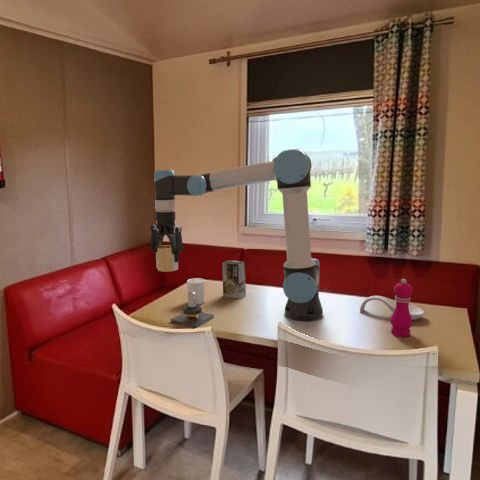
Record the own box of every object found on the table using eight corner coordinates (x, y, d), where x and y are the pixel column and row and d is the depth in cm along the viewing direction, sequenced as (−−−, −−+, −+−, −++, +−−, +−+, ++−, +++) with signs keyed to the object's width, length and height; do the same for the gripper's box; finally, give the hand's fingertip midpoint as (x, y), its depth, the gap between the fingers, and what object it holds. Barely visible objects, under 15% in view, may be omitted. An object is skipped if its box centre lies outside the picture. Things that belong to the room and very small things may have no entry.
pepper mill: (406, 329, 145) (409, 275, 142) (415, 337, 138) (419, 281, 135) (386, 329, 145) (389, 276, 142) (394, 338, 138) (398, 281, 135)
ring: (204, 310, 158) (204, 306, 157) (194, 315, 152) (194, 311, 152) (190, 307, 161) (190, 303, 161) (179, 313, 155) (179, 309, 155)
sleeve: (180, 268, 159) (179, 246, 158) (168, 272, 153) (167, 249, 152) (166, 266, 163) (165, 244, 161) (154, 270, 157) (153, 247, 155)
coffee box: (246, 295, 187) (246, 261, 184) (239, 299, 181) (238, 264, 179) (230, 292, 192) (229, 259, 189) (222, 296, 186) (221, 262, 183)
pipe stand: (213, 317, 159) (213, 290, 157) (196, 327, 149) (195, 299, 147) (189, 312, 165) (188, 286, 163) (170, 322, 155) (169, 294, 153)
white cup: (207, 299, 181) (206, 278, 179) (203, 305, 173) (203, 283, 172) (189, 299, 182) (189, 277, 180) (185, 305, 174) (185, 282, 172)
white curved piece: (424, 315, 160) (425, 298, 159) (423, 325, 149) (424, 307, 148) (362, 307, 170) (363, 290, 169) (357, 316, 160) (358, 298, 158)
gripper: (192, 211, 152) (193, 269, 156) (152, 208, 162) (154, 264, 166) (180, 213, 146) (181, 274, 150) (138, 210, 156) (141, 267, 160)
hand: (167, 268), depth 158 cm, fingers closed on sleeve, 7 cm apart
